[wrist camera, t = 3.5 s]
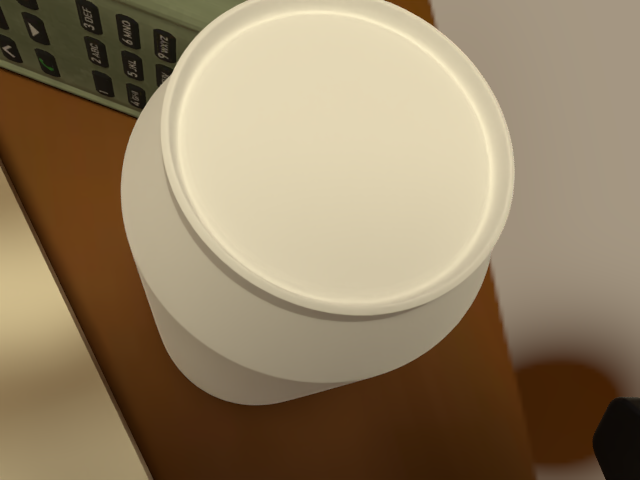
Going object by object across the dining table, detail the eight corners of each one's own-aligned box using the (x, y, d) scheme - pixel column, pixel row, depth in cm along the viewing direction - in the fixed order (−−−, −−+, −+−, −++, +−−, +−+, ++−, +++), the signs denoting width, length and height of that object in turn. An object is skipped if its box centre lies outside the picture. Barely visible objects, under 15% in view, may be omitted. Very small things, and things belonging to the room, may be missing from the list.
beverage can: (129, 262, 18) (31, -3, 7) (298, 199, 20) (429, -82, 9) (202, 443, 17) (224, 472, 6) (374, 357, 19) (636, 255, 8)
